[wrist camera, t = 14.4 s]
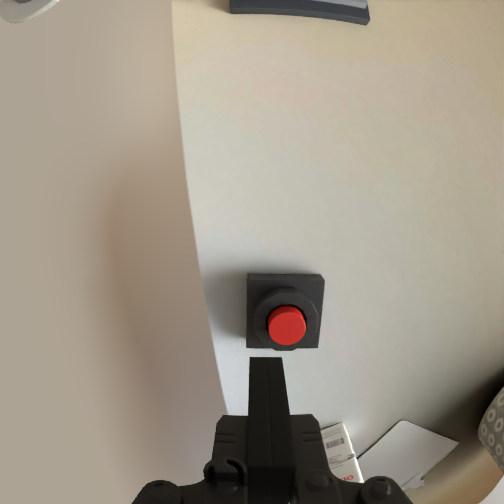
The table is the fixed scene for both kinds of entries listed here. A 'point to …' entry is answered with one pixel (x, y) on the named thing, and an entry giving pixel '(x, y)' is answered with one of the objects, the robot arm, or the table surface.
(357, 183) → the table surface
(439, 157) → the table surface
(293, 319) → the button
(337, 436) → the ink box
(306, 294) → the button box
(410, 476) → the grey flat square panel
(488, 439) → the planter
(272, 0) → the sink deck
